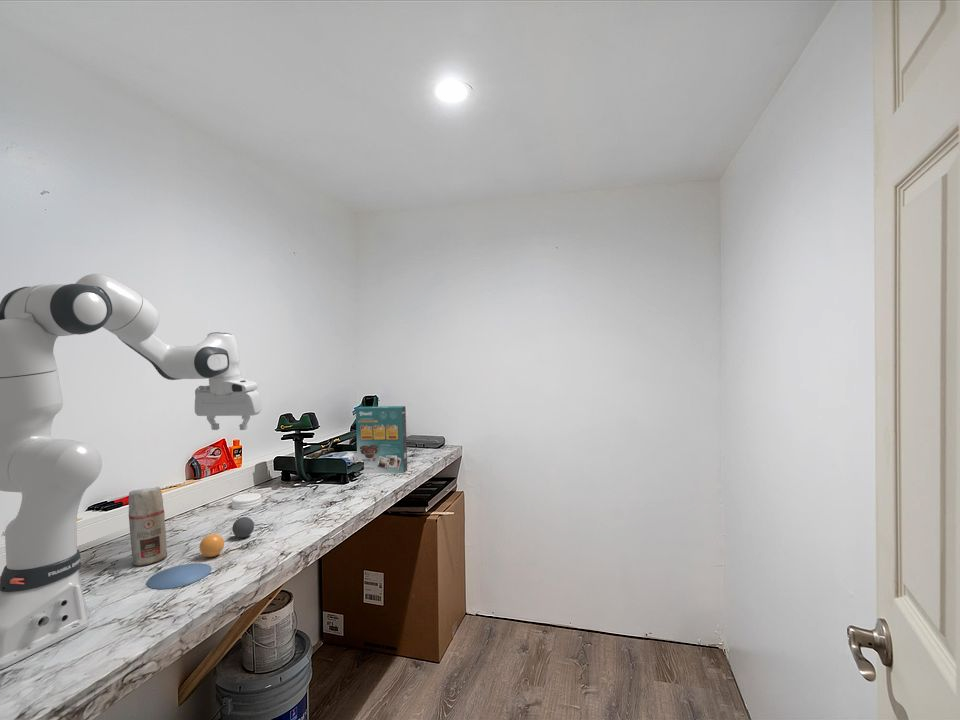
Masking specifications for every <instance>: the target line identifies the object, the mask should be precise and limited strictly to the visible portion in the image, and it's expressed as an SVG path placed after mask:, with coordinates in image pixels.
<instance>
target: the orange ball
mask: <svg viewBox="0 0 960 720" xmlns="http://www.w3.org/2000/svg"><path fill="white" fill-rule="evenodd" d="M224 547H225V540H224V538H223V536H221V535H219V534H217V533H211V534H208V535H206V536H205V537H204V538H202V540H201V541H200V543H199V551H200V553H201V555H203V556H204V557H207V558H213V557H216V556H218V555H220V554H221V552H223V549H224Z"/></svg>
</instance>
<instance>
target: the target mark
mask: <svg viewBox="0 0 960 720" xmlns="http://www.w3.org/2000/svg"><path fill="white" fill-rule="evenodd" d="M211 571H212V566H211V565H210V564H207V563H202V562H199V563H197V562H196V563H192V562H191V563H185V564H179V565H174V566H171V567H169V568H168V567H167V568H165V569H163V570H161V571H158V572H157V573H155V574H153V575H151V576H150V577H149V578H148V579H147V581H146V586H147V587H148V588H150V589H153V590H169V589H175V588H181V587H184V586H185V587H186V586H188V585H191V584H193V583H195V582H196V583H197V582H198V581H201V580H202V579H204V578H206V577H207V576H208V575H210V573H211Z"/></svg>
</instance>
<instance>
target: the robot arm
mask: <svg viewBox="0 0 960 720" xmlns="http://www.w3.org/2000/svg"><path fill="white" fill-rule="evenodd" d="M159 323H160V314H159V311H158V309H157V308H156V306H154V305H153V304H152V302H150V301H149V300H148V299H147V298H145V297H144V296H142V295H141V294H140V293H138V292H136V291H135V290H134V289H132V288H130V287H129V286H127V285H125V284H124V283H122V282H120V281H118V280H116V279H114V278H112V277H110V276H107V275H105V274H101V273H90V274H87V275H85V276H82V277H81V278H79V279H77V281H76V282H75V283H69V284H55V283H45V284H39V285H38V284H37V285H33V286H22V287H19V288H16V289H13V290H11V291H10V292H8V293H7V294H6V295H4V297H3V298H2V299H1V301H0V492H6V493H7V492H8V493H21V501H20V502H21V503H20V507H19V509H18V512H17V515H16V517H14V518H13V519H11V521H10V522H9V523H8V524H7V525H6V526H5V529H4V541H5V542H4V543H5V561H6V563H5V564H6V565H5V566H4V567H3V569H2V572H1V575H0V670H4V669H5V668H8V667H10V666H12V665H14V664H15V663H18V662H20V661H21V660H24V659H25V658H28V657H30V656H31V655H33V654H36V653H38V652H40V651H42V650H44V649H47V648H48V647H50V646H53V645H54V644H56V643H58V642H60V641H62V640H64V639H66V638H68V637H70V636H72V635H75V634H76V633H78V632H80V631H82V630H84V629H86V628H87V627H89V619H88V618H89V617H90V615H91V611H90V609H89V607H88V605H87V602H86V599H85V596H84V592H83V588H82V582H81V578H80V569H81V566H82V560H81V551H80V550H79V549H78V530H77V529H78V528H77V527H78V526H77V525H78V524H77V521H78V512H79V507H80V505H81V502H82V498H83V496H84V494H85V492H86V491H87V489H88V488H89V487H90V486H92V485H93V484H94V482H95V481H96V480H97V479H98V477H99V475H100V474H101V471H102V465H103V463H102V462H103V461H102V457H101V454H100V452H99V451H98V449H96V448H95V447H94V446H92V445H90V444H86V443H83V442H80V441H77V440H73V439H64V438H63V439H61V438H60V439H56V438H55V439H53V438H52V425H53V422H54V418H55V416H56V415H58V414H59V413H60V411H61V410H62V408H63V406H64V402H63V394H62V388H61V384H60V378H59V372H58V367H57V362H56V359H55V358H56V357H55V354H54V347H55V343H56V341H57V339H58V338H59V337H66V336H67V337H69V336H74V335H79V336H80V335H86V334H90V333H93V332H95V331H98V330H99V329H101V328H103V329H104V330H107V331H108V332H109V333H112V335H115V336H116V337H117V338H118V339H119V340H120V341H121V342H122V343H124V344H125V345H126V346H127V347H129V348H130V349H131V350H133V351H134V352H136V353H137V354H138V355H140V357H142V358H144V359H145V360H146V361H148V362H149V363H150V364H151V365H152V366H153V368H154V369H155V370H156V372H157V373H158V374H159V375H160V376H161V377H162V378H163V379H166V380H168V381H177V380H200V379H201V380H203V379H204V380H206V379H208V385H198V387H197V388H196V389H195V390H194V396H195V397H194V414H195V415H196V416H198V417H206V420H207V421H208V423H209V425H210V426H211V427H210V429H211V430H212V431H218V430H220V423H218V422H217V421H216V420H215V418H216V417H220V416H221V417H229V416H230V417H231V416H234V417H237V416H238V417H239V416H240V417H241V419H242V423H240V424H239V425H238V426H239V430H240V431H246V430H248V423H249V421H250V419H251V416H256V415H258V414H260V413H261V410H262V405H261V404H262V403H261V397H260V393H259V392H258V391H257V389H258V384H257V382H256V381H252V380H250V379H247V378H243V377H242V373H241V371H240V361H241V360H240V349H239V345H238V341H237V339H236V337H235V335H233V334H232V333H228V332H219V331H218V332H217V331H216V332H210V333H207V335H206V338H205V339H204V340H202V341H201V342H199V343H196V345H174V344H167V343H165V342H164V341H162V340H161V338H159V337H158V336H156V335H155V334H154V333H155V332H156V330H157V328H158V326H159Z"/></svg>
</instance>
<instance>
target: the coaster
mask: <svg viewBox="0 0 960 720" xmlns="http://www.w3.org/2000/svg"><path fill="white" fill-rule="evenodd" d="M230 501H231V508H232V509H233V510H249V509H254V508H257V507H259V506H260V505H262V494H260V493H255V492H251V493H243V494H239V495H236V496H233V497H232V499H231V500H230Z"/></svg>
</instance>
